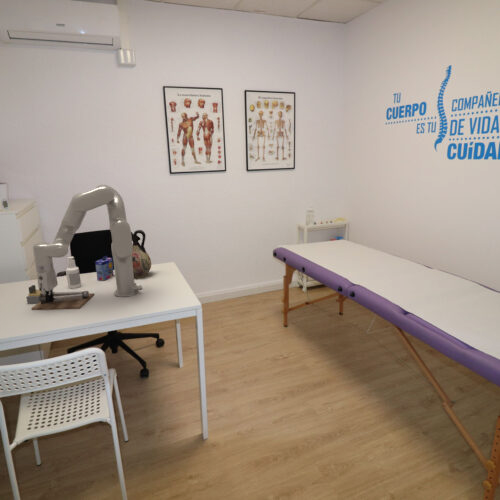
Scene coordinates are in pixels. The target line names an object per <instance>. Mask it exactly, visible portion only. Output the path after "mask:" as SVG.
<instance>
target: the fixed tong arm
mask: <svg viewBox="0 0 500 500" xmlns="http://www.w3.org/2000/svg"><path fill="white" fill-rule="evenodd" d="M82 292H83V291H57V292H56V291H53V297H55V296H65V295H75V294H82Z"/></svg>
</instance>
